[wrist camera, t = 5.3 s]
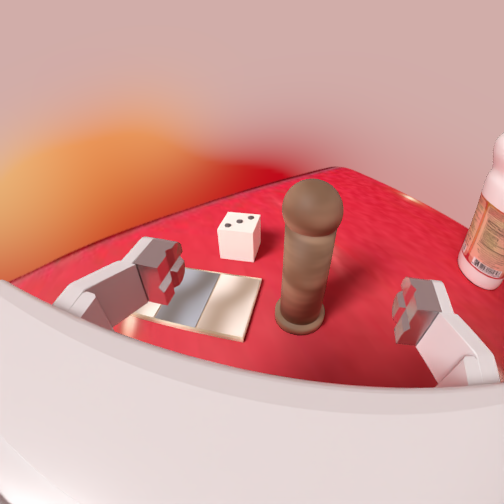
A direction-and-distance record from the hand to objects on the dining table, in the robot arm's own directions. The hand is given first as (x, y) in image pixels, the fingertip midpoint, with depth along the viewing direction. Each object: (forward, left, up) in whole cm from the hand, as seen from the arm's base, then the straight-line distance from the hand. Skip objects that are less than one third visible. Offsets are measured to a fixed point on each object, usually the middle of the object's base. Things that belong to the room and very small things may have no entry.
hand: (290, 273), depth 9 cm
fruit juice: (-30, -24, -17) cm, 42 cm away
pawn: (-1, -12, -16) cm, 20 cm away
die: (+8, -22, -16) cm, 29 cm away
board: (+14, -12, -16) cm, 25 cm away
